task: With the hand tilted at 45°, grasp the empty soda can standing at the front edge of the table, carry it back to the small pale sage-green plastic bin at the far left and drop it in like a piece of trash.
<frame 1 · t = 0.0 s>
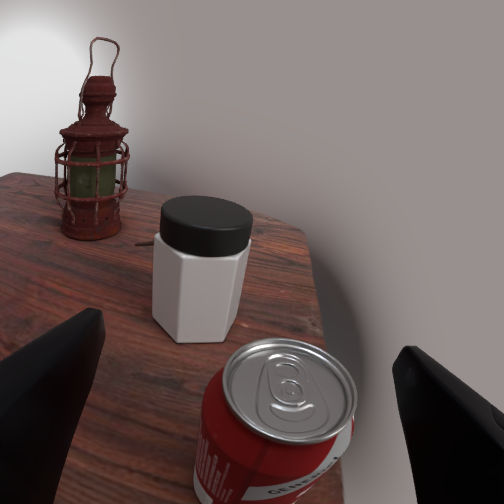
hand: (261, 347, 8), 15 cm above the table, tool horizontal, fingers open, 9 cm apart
lantern: (91, 228, 46), on the table
jar: (194, 319, 32), on the table
soda can: (242, 486, 17), on the table
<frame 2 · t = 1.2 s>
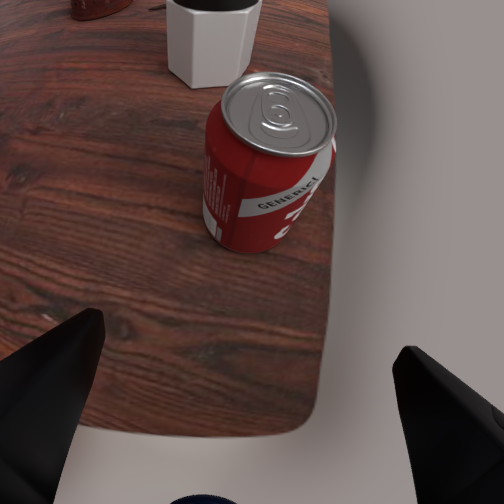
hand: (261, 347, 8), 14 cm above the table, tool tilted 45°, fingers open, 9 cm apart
lantern: (102, 6, 33), on the table
jar: (209, 67, 30), on the table
soda can: (245, 216, 25), on the table
fork: (199, 2, 35), on the table
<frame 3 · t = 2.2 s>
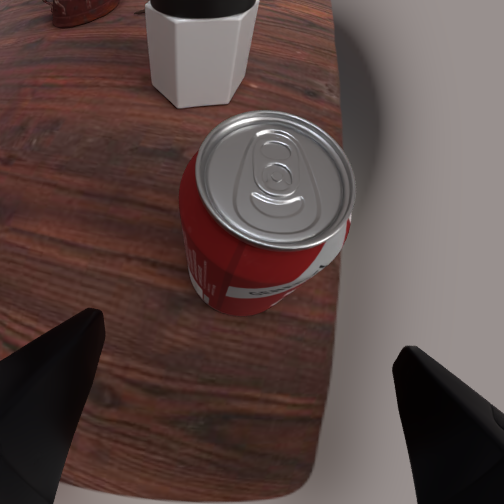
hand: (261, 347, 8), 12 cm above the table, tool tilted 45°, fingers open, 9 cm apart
lantern: (85, 11, 30), on the table
jar: (198, 81, 27), on the table
soda can: (238, 268, 21), on the table
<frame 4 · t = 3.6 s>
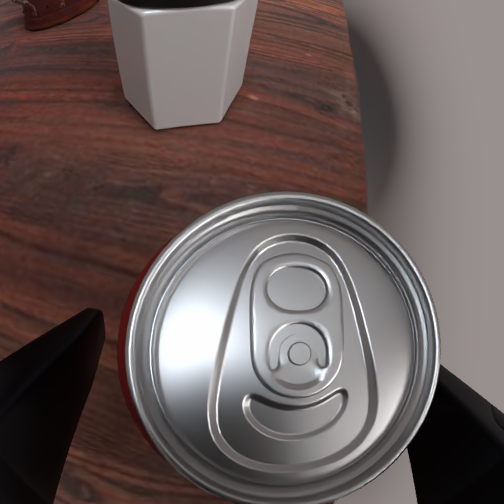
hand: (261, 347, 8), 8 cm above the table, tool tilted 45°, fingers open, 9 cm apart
lantern: (61, 10, 24), on the table
jar: (183, 92, 21), on the table
soda can: (233, 354, 16), on the table
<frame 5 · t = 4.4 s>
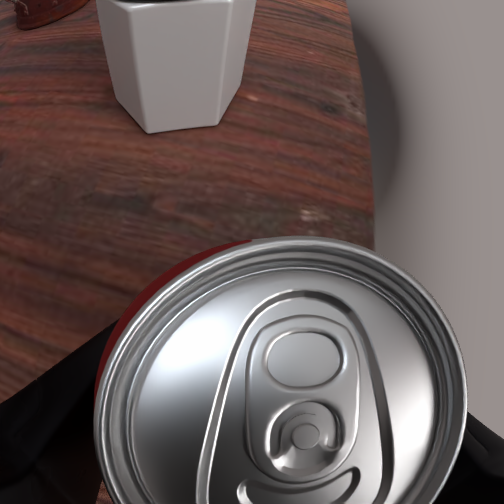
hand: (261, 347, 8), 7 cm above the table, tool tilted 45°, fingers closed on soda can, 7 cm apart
lantern: (55, 8, 23), on the table
jar: (178, 93, 20), on the table
soda can: (231, 377, 15), on the table, touching gripper
when the fingers open (8 cm above the table, at t = 12.5 s): soda can stays where it is, resting on bin.
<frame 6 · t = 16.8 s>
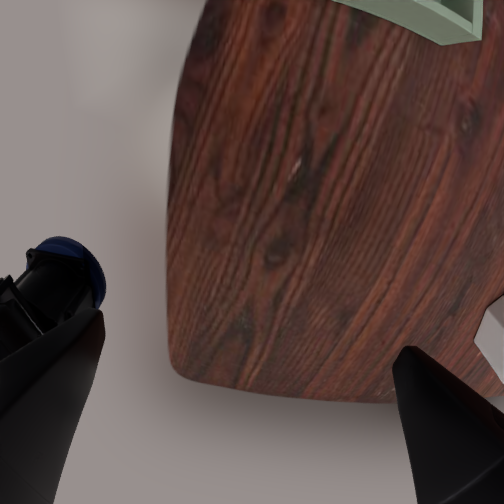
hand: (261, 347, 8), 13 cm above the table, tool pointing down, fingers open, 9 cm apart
jar: (500, 317, 26), on the table
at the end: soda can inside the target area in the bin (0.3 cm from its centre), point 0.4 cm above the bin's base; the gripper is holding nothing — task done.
